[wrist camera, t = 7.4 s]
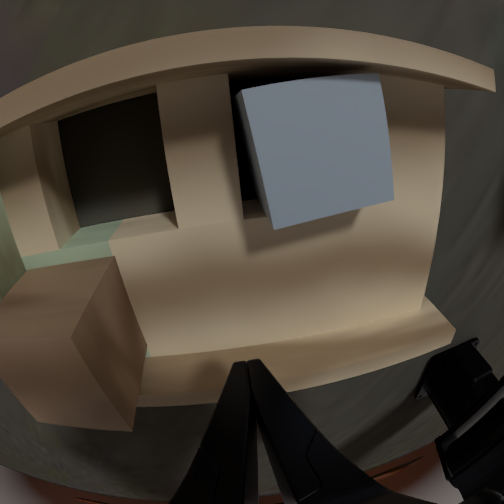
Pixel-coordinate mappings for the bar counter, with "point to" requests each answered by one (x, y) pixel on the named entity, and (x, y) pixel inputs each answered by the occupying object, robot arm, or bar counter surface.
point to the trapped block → (316, 146)
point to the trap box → (243, 211)
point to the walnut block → (73, 345)
